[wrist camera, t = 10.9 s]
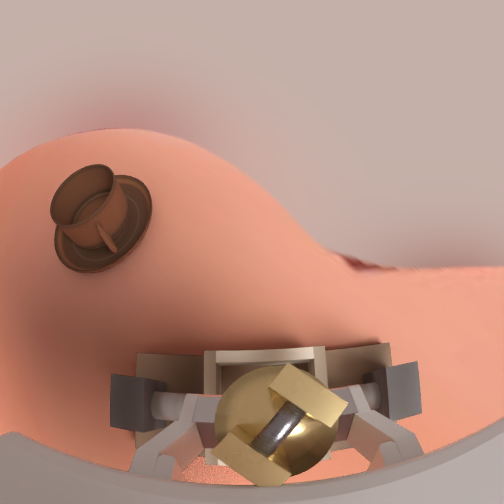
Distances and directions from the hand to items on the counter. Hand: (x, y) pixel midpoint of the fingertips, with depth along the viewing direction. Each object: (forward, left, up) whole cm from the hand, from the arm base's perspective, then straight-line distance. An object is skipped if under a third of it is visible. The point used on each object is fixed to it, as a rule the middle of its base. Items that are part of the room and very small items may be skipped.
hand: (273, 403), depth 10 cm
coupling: (+1, 0, -5) cm, 5 cm away
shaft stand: (0, -1, -10) cm, 10 cm away
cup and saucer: (-23, +2, -11) cm, 26 cm away
